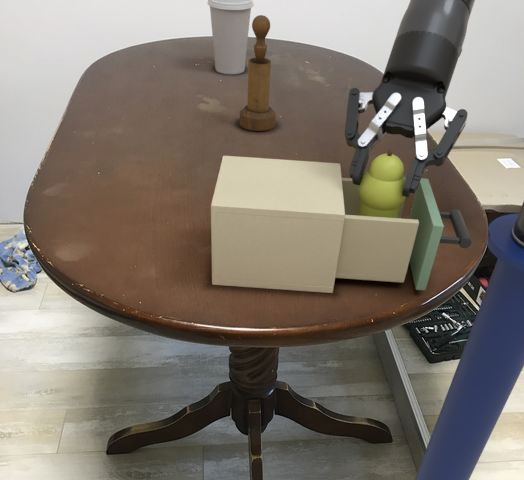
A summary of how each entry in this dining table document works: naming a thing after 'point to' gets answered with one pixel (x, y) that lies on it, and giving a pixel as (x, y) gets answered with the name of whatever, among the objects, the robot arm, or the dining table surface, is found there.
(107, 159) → the dining table surface
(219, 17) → the coffee cup
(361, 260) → the drawer
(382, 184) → the pear
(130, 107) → the dining table surface
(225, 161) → the cabinet
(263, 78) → the mortar and pestle
